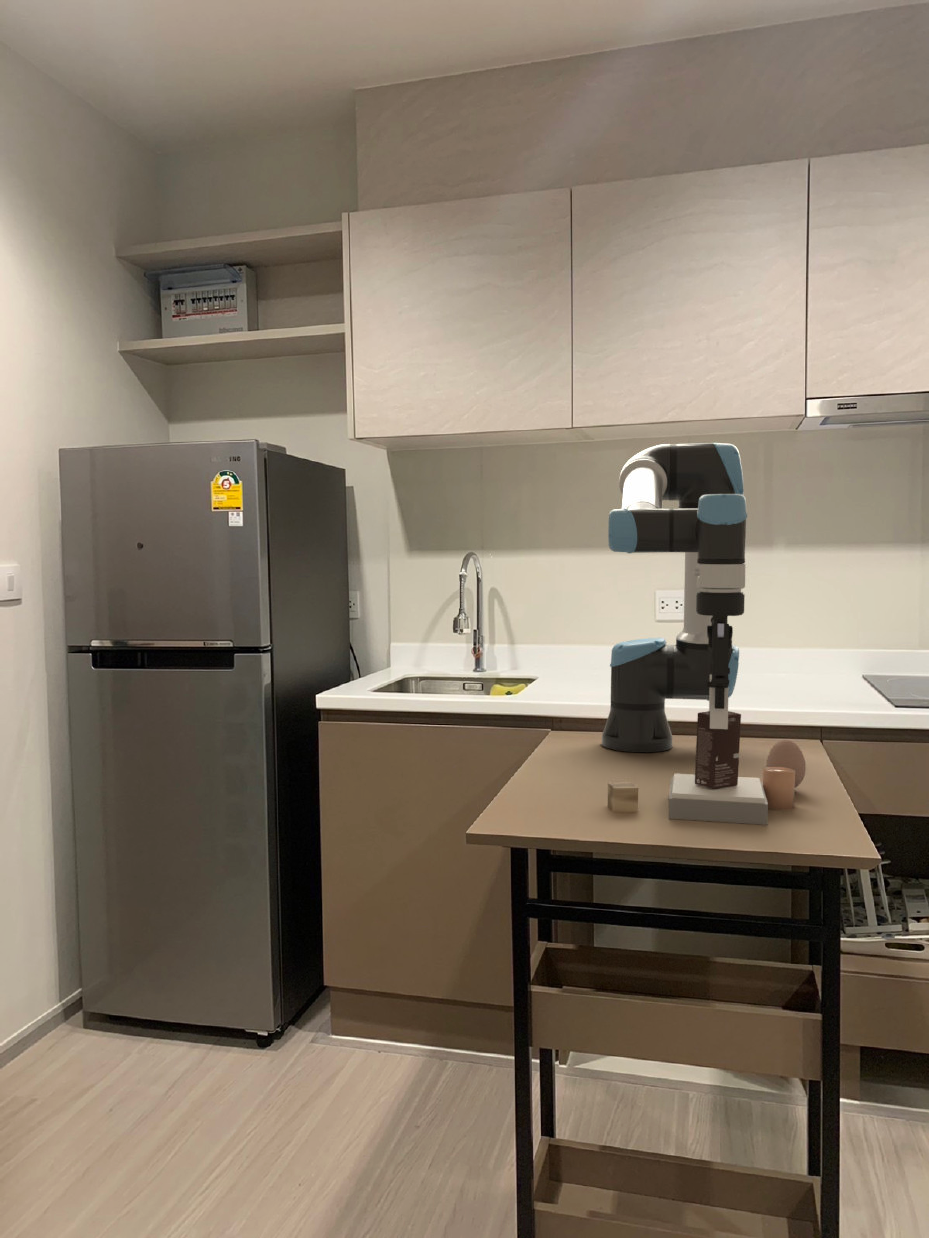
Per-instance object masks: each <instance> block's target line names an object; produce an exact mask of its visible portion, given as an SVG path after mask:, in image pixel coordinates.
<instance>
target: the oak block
mask: <svg viewBox="0 0 929 1238" xmlns="http://www.w3.org/2000/svg"><path fill="white" fill-rule="evenodd" d="M607 807H609V809H610V810H611V812H613V813H630V812H631V813H632V812H636V813H637V812H639V787H638V786H637V785H635V784H634V783H633V782H632V781H622V782H621V781H618V782H617V781H616V782H607Z"/></svg>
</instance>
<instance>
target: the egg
mask: <svg viewBox="0 0 929 1238" xmlns="http://www.w3.org/2000/svg"><path fill="white" fill-rule="evenodd" d="M766 767H784V768H790V769H793V770H795V789H796V788H797V787H799V785H800V784H801V783H802V782H803V780H804V778H805V775H806V769H807V767H806V760H805V756H804V755H803V752H802V750H801V748H800V746H799V745H798V744H797V743H796V742H794V741H793V740H791V739H788V738H787V739H781V740H778V741H777V742H776V743H775V744H773V746H772V747H771V749H770V751H769V753H768V754H767V758H766V763H765V768H766Z"/></svg>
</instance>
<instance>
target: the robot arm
mask: <svg viewBox="0 0 929 1238" xmlns="http://www.w3.org/2000/svg"><path fill="white" fill-rule="evenodd" d="M743 473H744V472H743V467H742V461H741V455H740V452H739V449H738V448H737V446H735V444H732V443H723V442H722V443H721V442H710V443H709V442H707V443H706V442H705V443H704V442H703V443H678V444H677V443H673V444H671V443H667V444H666V443H663V444H658V445H655V446H650V447H648V448H646V449H643V450H642V451H640V452H638V453H636V454H635V455H633V456H632V457H631V458H630V459H628V460H627V462H626V463H625V464H624V466H623V467H622V470H621V471H620V474H619V478H618V484H619V485H618V487H619V490H620V493H621V495H622V503H621V508H619V509H617V508H616V509H612V510H611V511H610V512H609V514H608V528H607V529H608V532H607V533H608V534H607V535H608V536H607V537H608V547H609V549H610V551H612V552H614V553H627V554H633V553H634V554H635V553H638V554H640V553H642V554H643V553H684V587H683V588H684V590H683V591H684V594H683V595H684V597H683V602H684V603H683V628H682V631H680V632H679V633H678V634H677V635H676V636H675V644H667V641H666V639H665V638H663V637H653V638H652V637H649V638H641V639H633V640H625V641H621V642H619V643H616V644H615V645H614V646H613V647H612V649H611V655H610V657H611V658H610V665H609V667H610V707H609V708H610V711H609V713H608V717H607V720H606V721H605V726H604V728H603V732H602V734H601V745H602V746H603V747H604V748H607V749H611V750H614V751H620V752H629V753H654V752H656V753H658V752H664V751H668V750H670V749H672V748H673V739H674V738H673V735H672V734H673V733H672V731H671V727H670V724H669V721H668V718H667V715H666V711H665V710H666V708H665V707H666V705H665V704H666V700H667V699H668V700H696V701H698V700H700V701H701V700H703V701H705V700H706V701H708V711H710V729H728V711H729V699H730V697H732V695H733V693H734V690H735V687H736V683H737V678H738V673H739V672H738V671H739V664H740V663H739V659H740V648H739V647H738V646H736V644H733V631H734V629H733V626H732V625H730V624H729V623H728V617H738V616H742V615H744V613H745V593H744V591H742V590H743V589H745V588H746V558H745V557H746V534H747V531H746V529H747V528H746V527H747V518H748V512H747V500H746V497H745V496H744V495H745V493H744V491H745V489H744V475H743ZM663 501H678V508H663V507H664V503H663Z"/></svg>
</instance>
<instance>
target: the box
mask: <svg viewBox="0 0 929 1238" xmlns="http://www.w3.org/2000/svg"><path fill="white" fill-rule="evenodd" d="M696 720H697V722H696V723H697V724H696V725H697V726H696V740H695V741H696V744H695V747H696V748H695V769H694V771H695V772H694V775H695V785H697V786H701V787H703V788H708V789H716V788H722V787H728V786H735V785H738V777H739V763H740V744H741V743H740V742H741V740H740V739H741V723H742V713H739V712H735V711H730V710H728V729H710V711H709V710H708V711H701V712H698V713H697V718H696Z"/></svg>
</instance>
